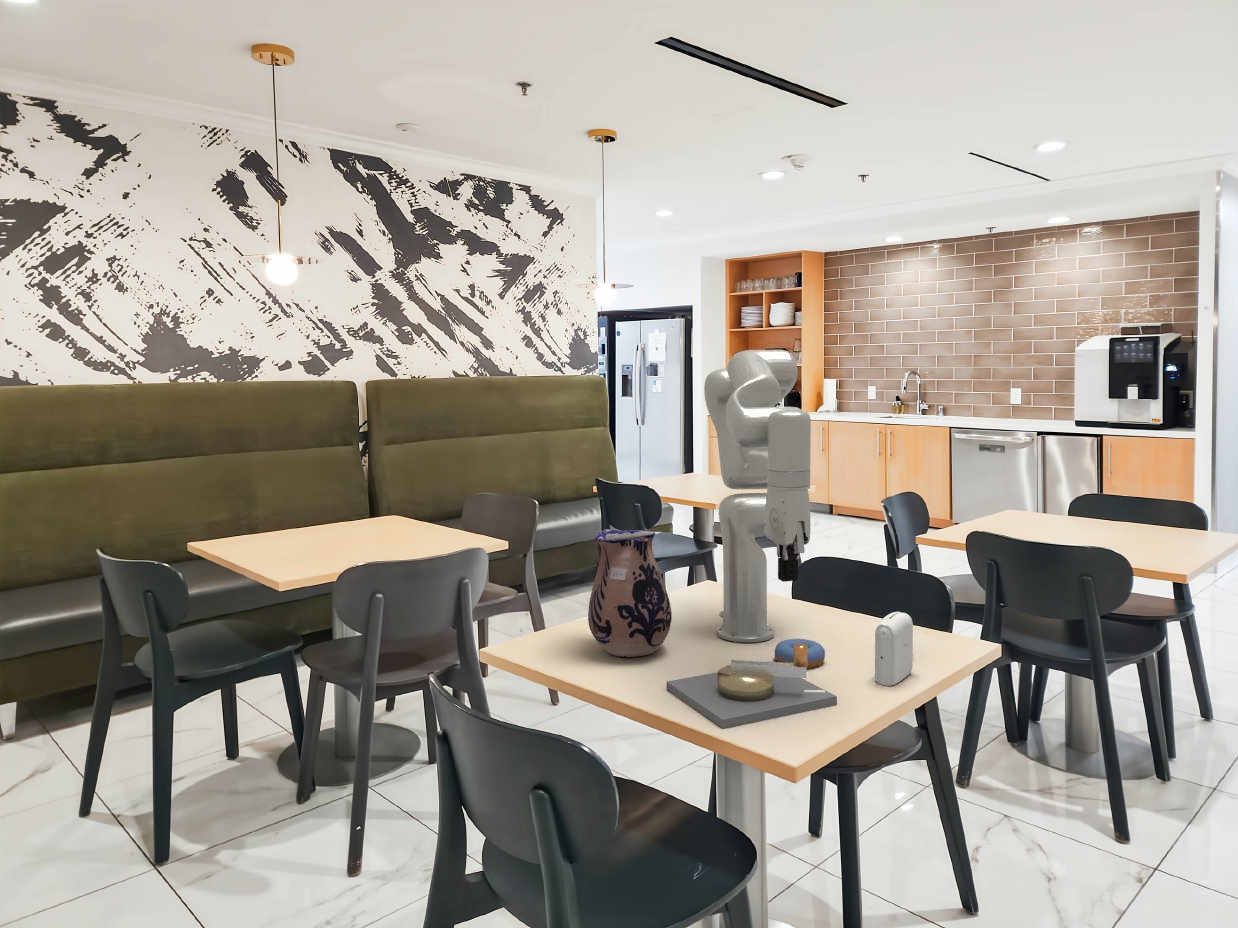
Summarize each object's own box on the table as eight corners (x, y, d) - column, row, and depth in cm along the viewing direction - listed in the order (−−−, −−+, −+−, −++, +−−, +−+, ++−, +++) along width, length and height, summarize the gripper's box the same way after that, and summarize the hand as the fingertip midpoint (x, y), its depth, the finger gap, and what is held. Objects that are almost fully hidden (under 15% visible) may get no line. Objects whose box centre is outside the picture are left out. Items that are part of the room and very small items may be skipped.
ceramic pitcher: (625, 671, 168) (623, 545, 166) (562, 646, 185) (559, 532, 182) (689, 652, 179) (688, 534, 177) (624, 630, 196) (622, 522, 193)
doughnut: (794, 672, 165) (795, 648, 165) (764, 660, 174) (765, 637, 174) (835, 669, 170) (836, 646, 170) (803, 657, 179) (804, 635, 179)
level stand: (666, 689, 158) (666, 680, 158) (771, 670, 167) (771, 661, 167) (722, 728, 140) (722, 718, 140) (836, 704, 149) (837, 694, 149)
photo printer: (893, 688, 157) (894, 621, 155) (871, 683, 159) (872, 618, 158) (915, 672, 164) (916, 609, 163) (893, 668, 167) (894, 606, 166)
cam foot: (714, 698, 148) (714, 650, 148) (720, 678, 158) (719, 633, 157) (807, 703, 145) (807, 654, 144) (807, 683, 155) (807, 637, 154)
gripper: (752, 475, 159) (752, 571, 161) (787, 486, 145) (786, 592, 147) (789, 473, 161) (789, 568, 163) (827, 484, 147) (826, 588, 149)
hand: (787, 579), depth 155 cm, fingers closed
